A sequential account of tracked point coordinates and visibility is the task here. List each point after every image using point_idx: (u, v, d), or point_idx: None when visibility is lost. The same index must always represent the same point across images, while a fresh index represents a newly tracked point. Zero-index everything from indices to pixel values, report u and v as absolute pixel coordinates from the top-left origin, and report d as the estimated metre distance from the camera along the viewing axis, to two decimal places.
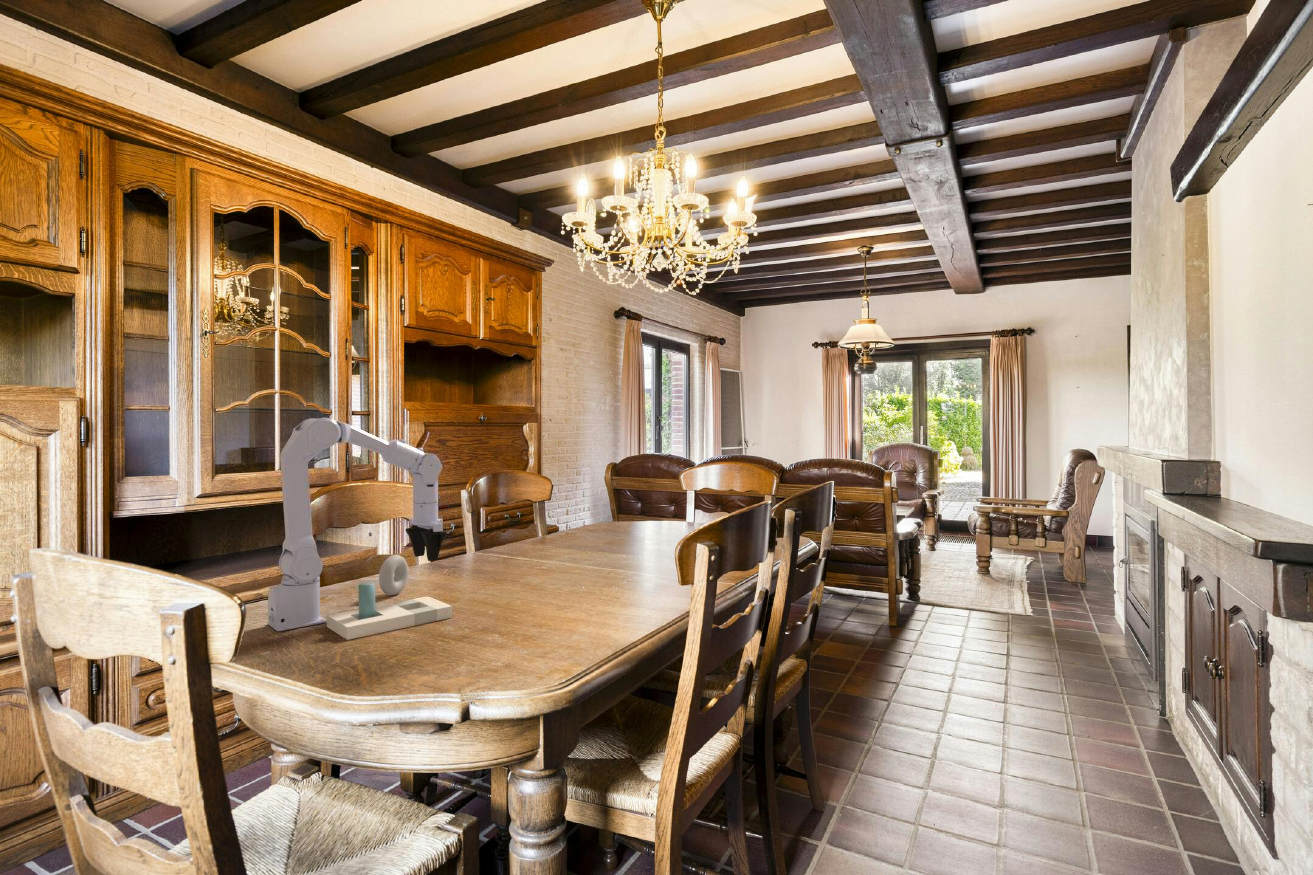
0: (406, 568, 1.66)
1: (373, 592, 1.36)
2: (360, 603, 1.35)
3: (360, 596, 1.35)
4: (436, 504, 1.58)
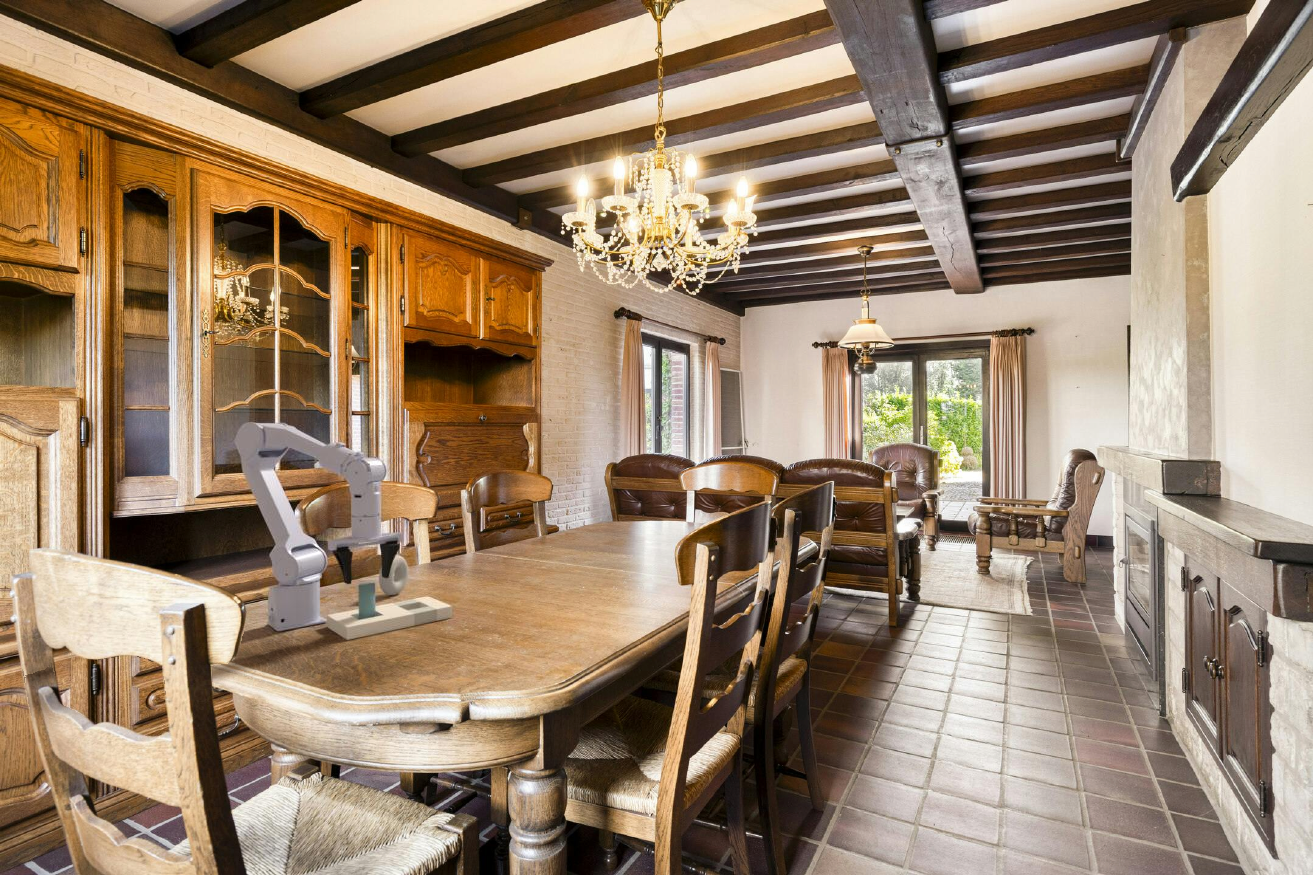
0: (406, 568, 1.66)
1: (373, 592, 1.36)
2: (360, 603, 1.35)
3: (360, 596, 1.35)
4: (358, 519, 1.34)
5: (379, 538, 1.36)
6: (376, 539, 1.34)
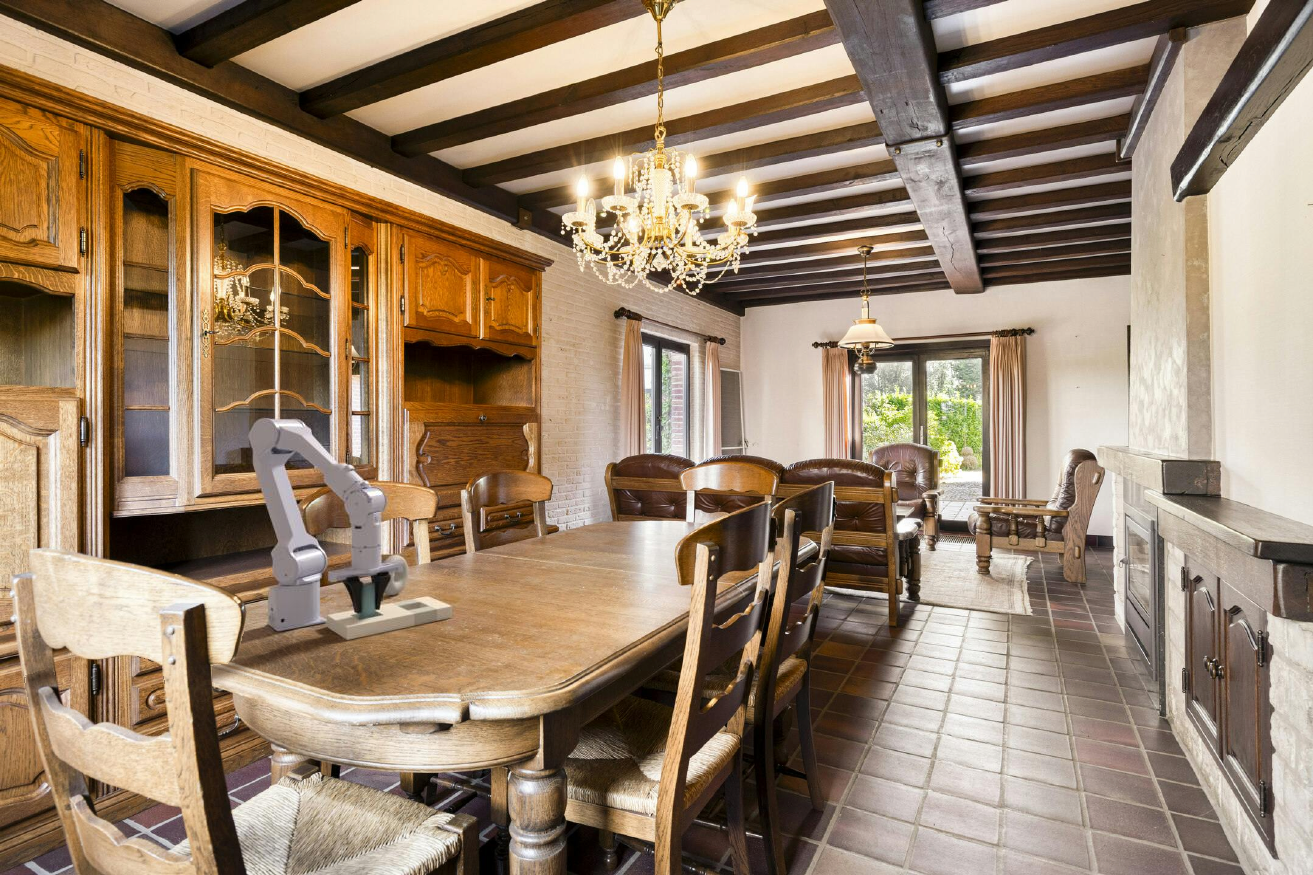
0: (406, 568, 1.66)
1: (373, 592, 1.36)
2: None
3: None
4: (358, 550, 1.34)
5: (379, 569, 1.36)
6: (376, 570, 1.34)
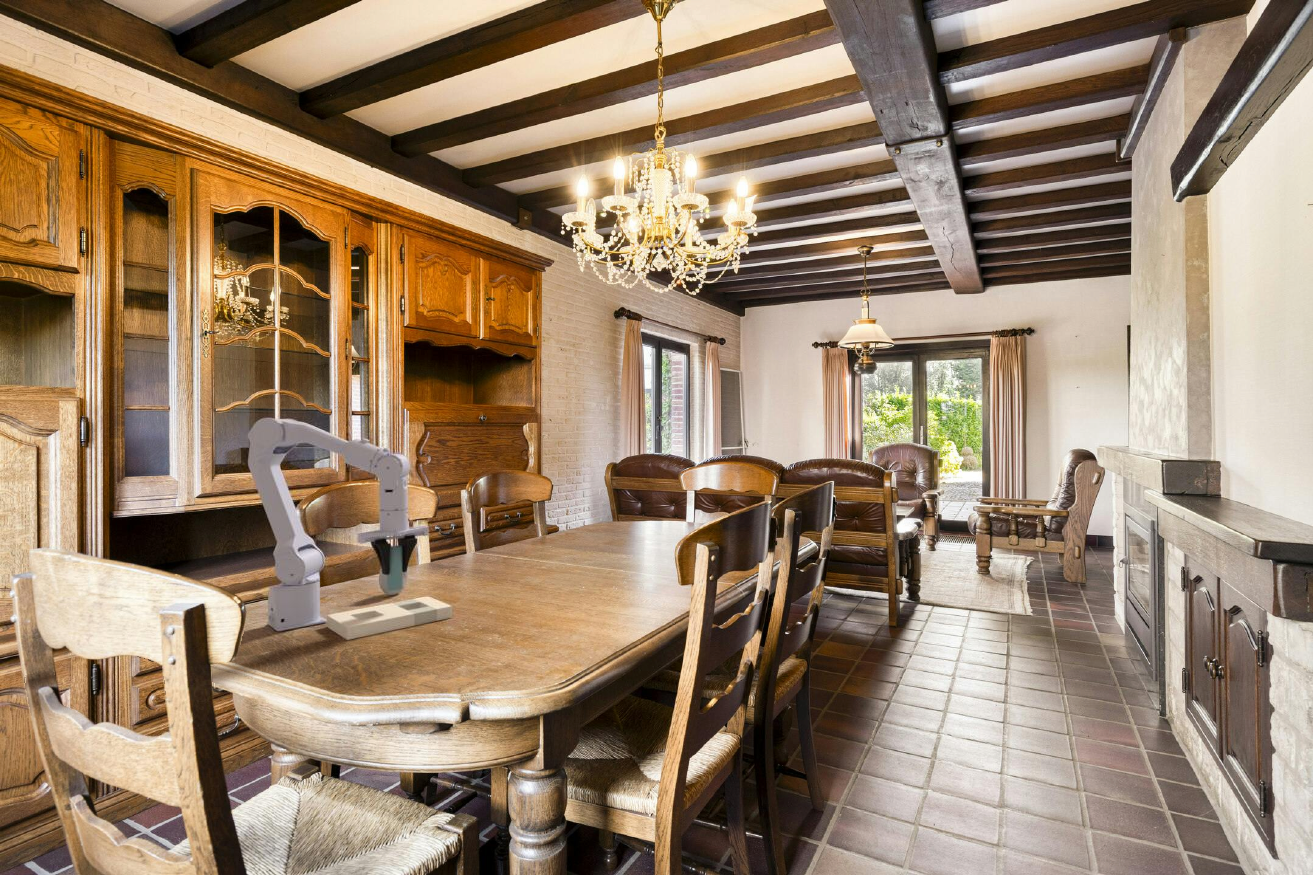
0: None
1: (400, 554, 1.40)
2: None
3: None
4: (386, 513, 1.38)
5: (406, 531, 1.40)
6: (404, 532, 1.38)
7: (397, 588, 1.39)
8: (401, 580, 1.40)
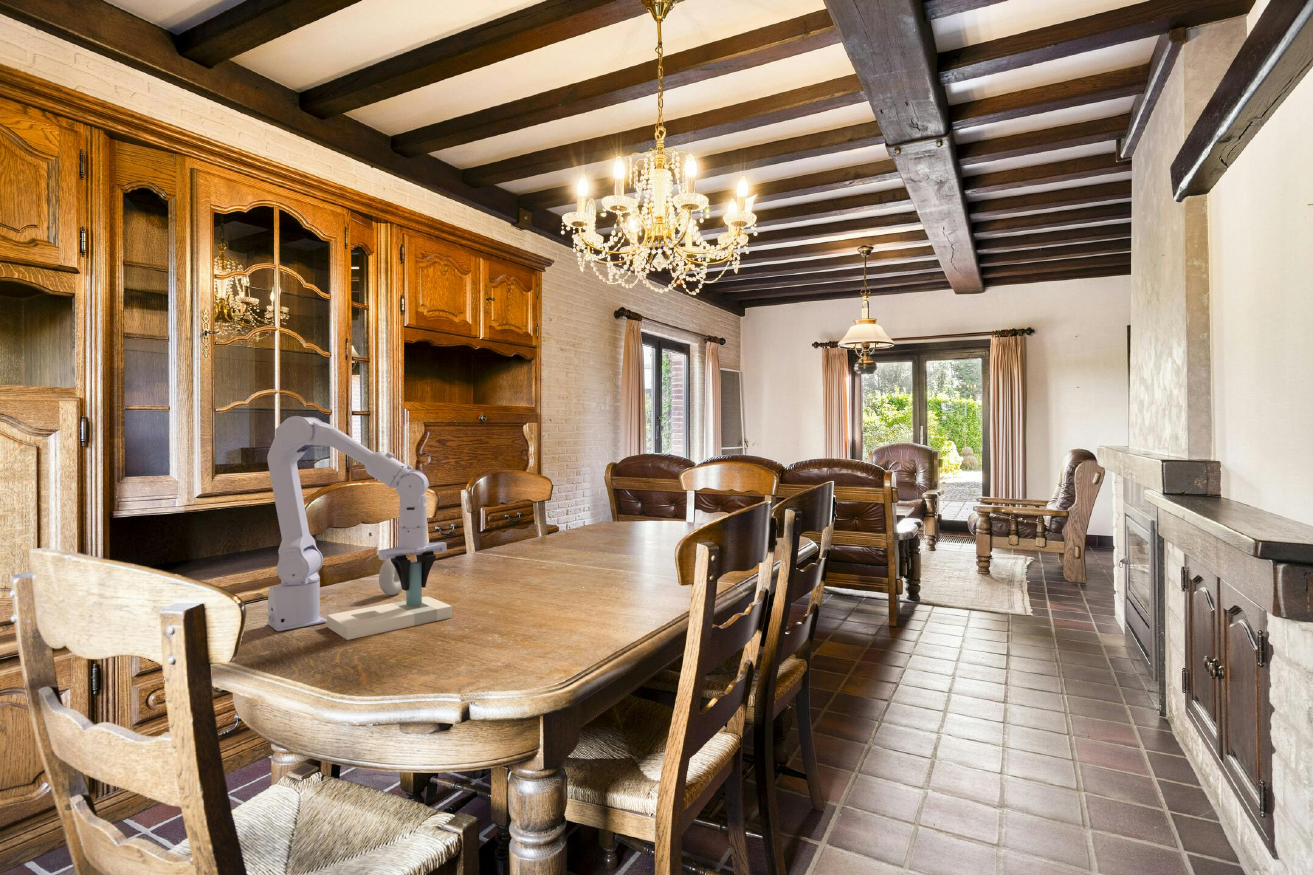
0: None
1: (420, 570, 1.43)
2: None
3: None
4: (406, 530, 1.41)
5: (425, 548, 1.43)
6: (423, 549, 1.41)
7: (416, 603, 1.42)
8: (420, 595, 1.43)
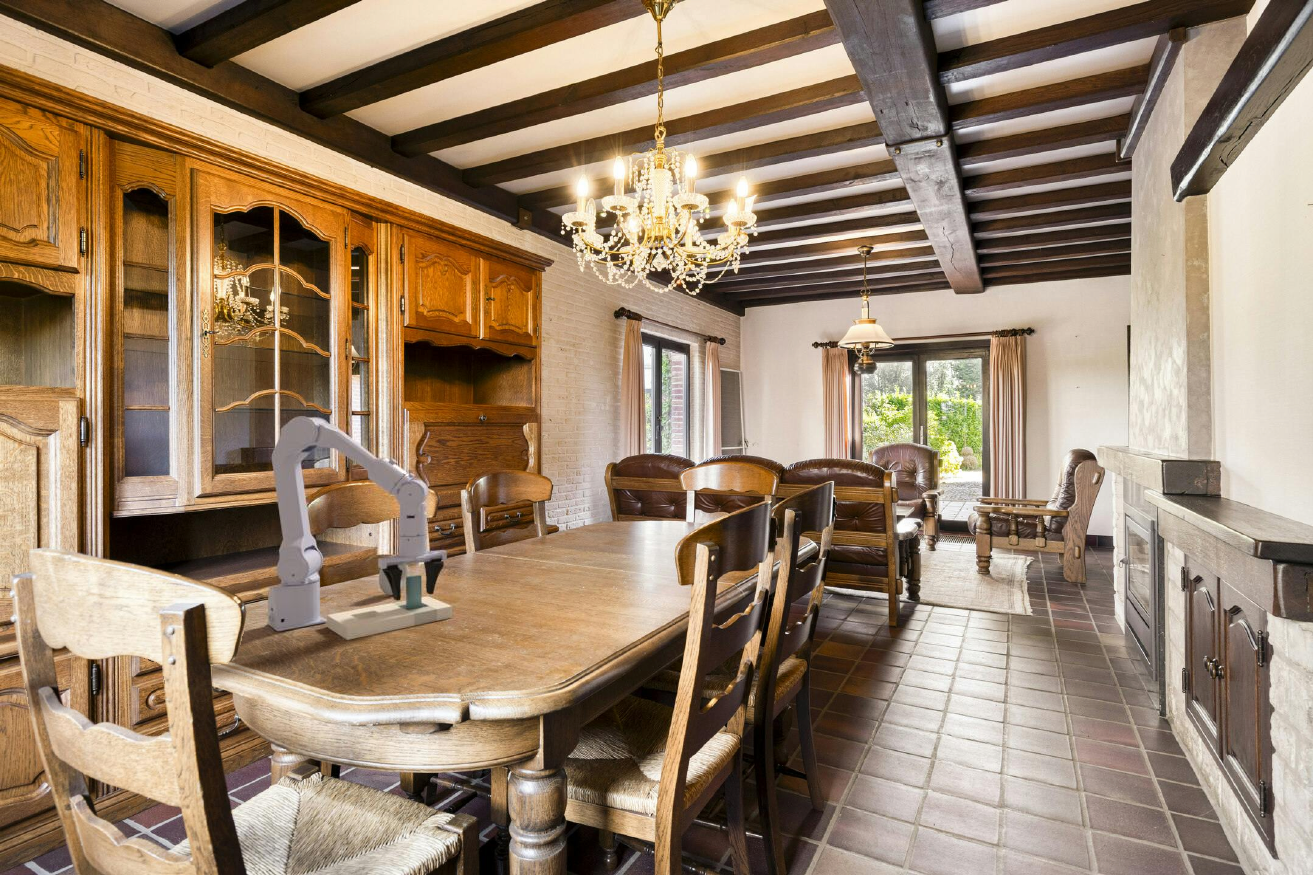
0: (406, 568, 1.66)
1: (419, 584, 1.43)
2: (408, 595, 1.42)
3: (408, 588, 1.42)
4: (406, 538, 1.41)
5: (426, 556, 1.43)
6: (423, 558, 1.41)
7: None
8: None
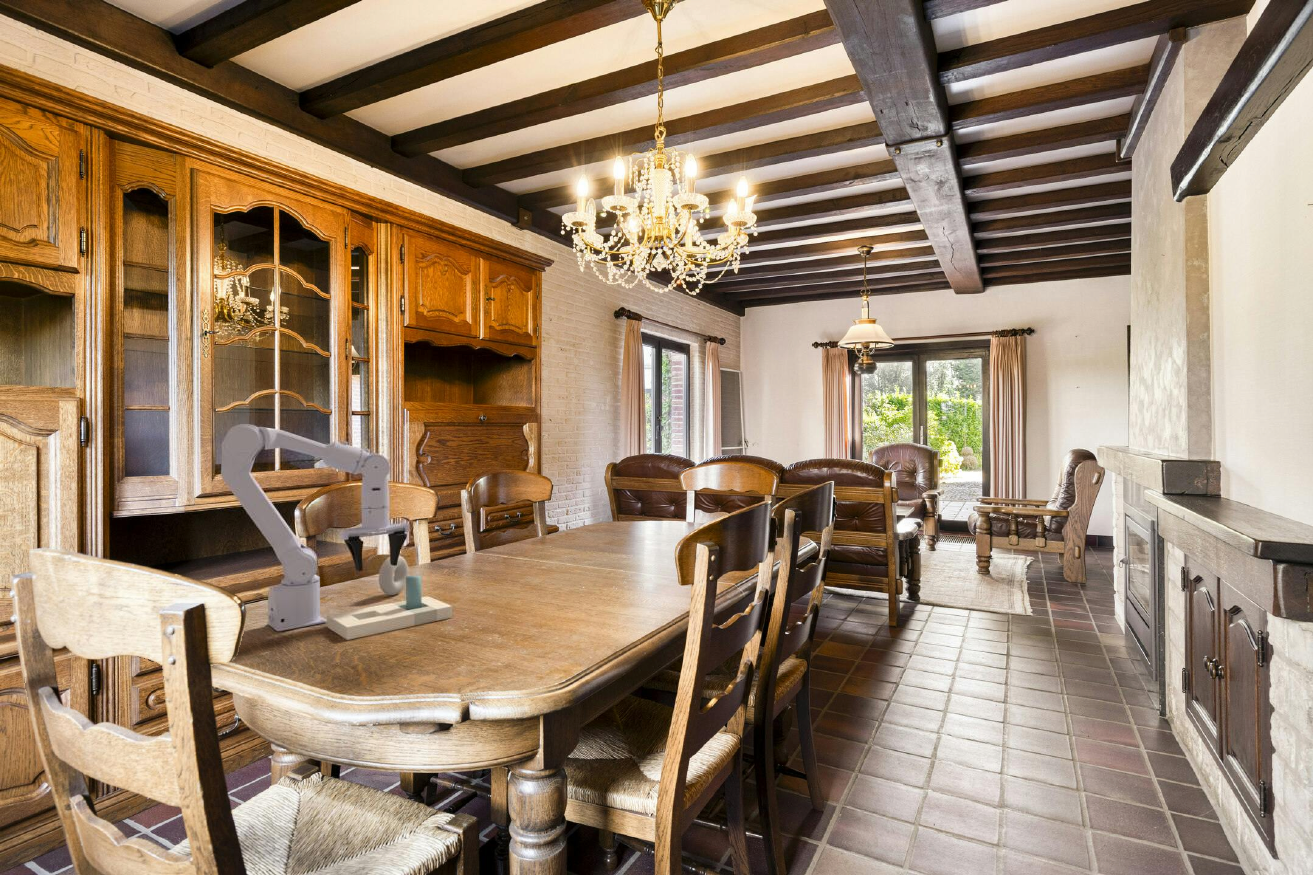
0: (406, 568, 1.66)
1: (419, 584, 1.43)
2: (408, 595, 1.42)
3: (408, 588, 1.42)
4: (368, 510, 1.44)
5: (388, 528, 1.46)
6: (385, 529, 1.44)
7: None
8: None
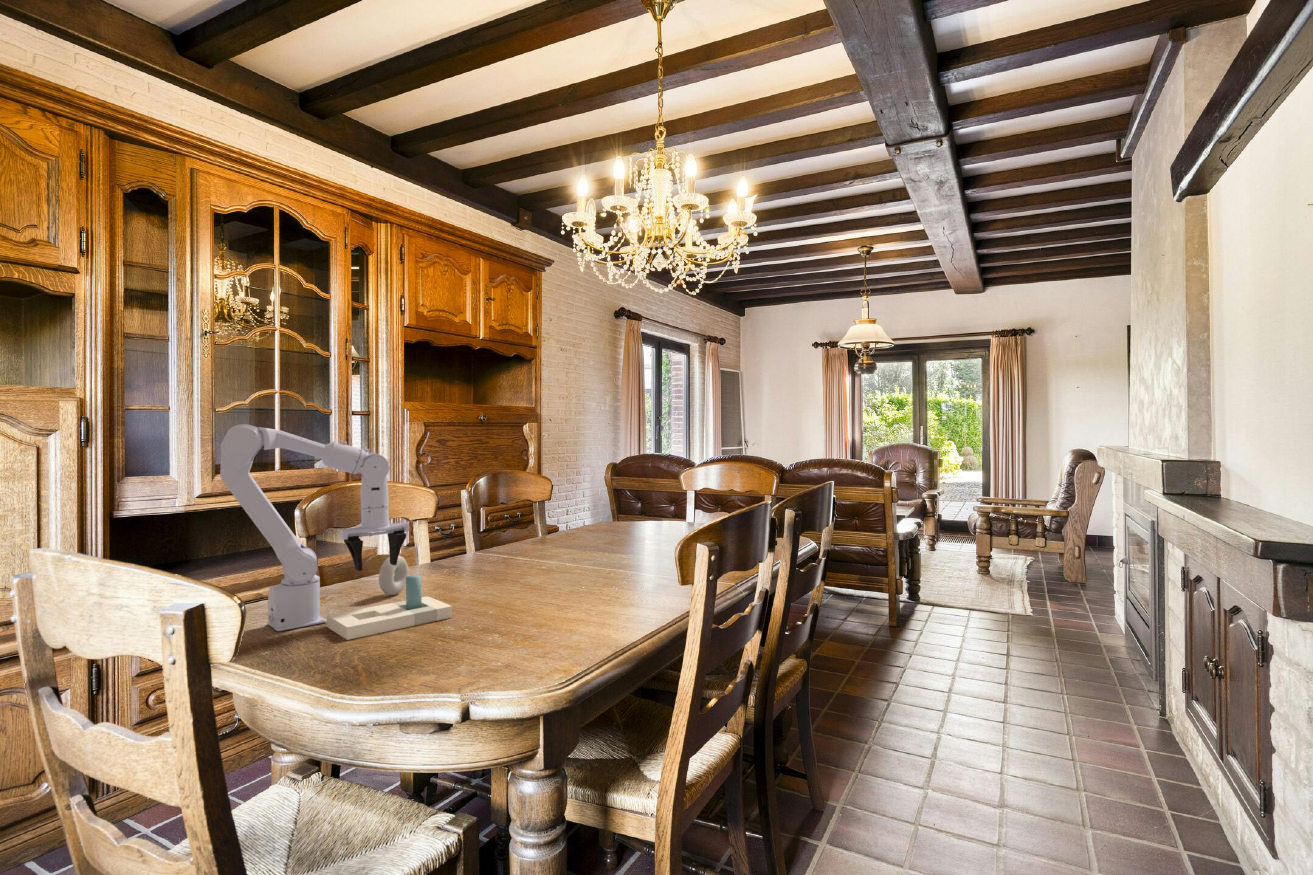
0: (406, 568, 1.66)
1: (419, 584, 1.43)
2: (408, 595, 1.42)
3: (408, 588, 1.42)
4: (367, 510, 1.44)
5: (387, 528, 1.46)
6: (384, 529, 1.44)
7: None
8: None
